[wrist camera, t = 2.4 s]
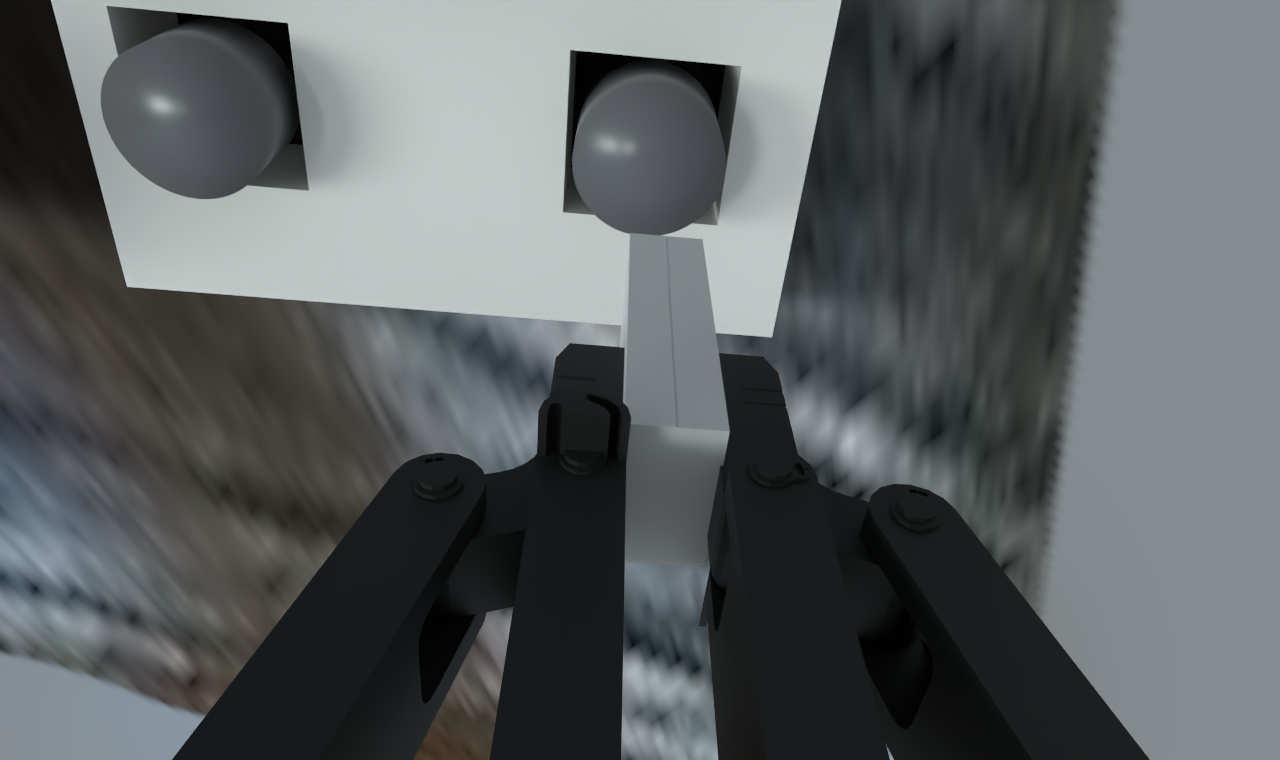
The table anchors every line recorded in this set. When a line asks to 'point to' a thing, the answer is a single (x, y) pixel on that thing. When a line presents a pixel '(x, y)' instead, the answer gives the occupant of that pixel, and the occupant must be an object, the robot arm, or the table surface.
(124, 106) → the dark grey rounded piece
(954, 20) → the table surface
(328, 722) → the robot arm
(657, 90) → the grey dome
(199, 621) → the table surface
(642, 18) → the white rectangular box
